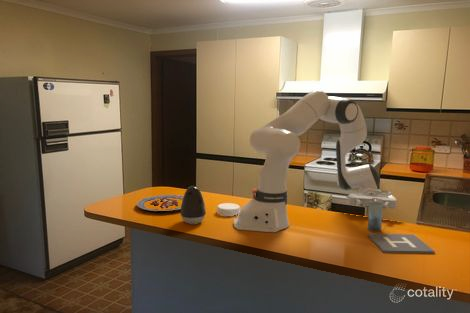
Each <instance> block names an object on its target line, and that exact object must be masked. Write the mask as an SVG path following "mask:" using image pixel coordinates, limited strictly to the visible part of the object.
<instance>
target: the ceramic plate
mask: <svg viewBox="0 0 470 313" xmlns="http://www.w3.org/2000/svg"><path fill="white" fill-rule="evenodd" d="M183 197H184V195H177V194H161V195H160V194H159V195H154V196H147V197H144V198H142V199H140V200H139V201H137V202H136V205H137V207H138V208H140V209H142V210H146V211H150V212H151V211H152V212H157V211H168V212H173V210H175V211H178V210H181V207H179V208H175V209H166V210H158V209H149V208H146V207H145V206H144V203H146V202H147V201H151V200H155V199H160V200H161V201H160V202H163V203H162V204H161V206H160V207H161V208H162V209H163V208H168V207H169V206H173V205H175V206H177V207H178V205H180V204H178V201H177V200H173V199H180V200H183ZM167 198H173V199H167ZM158 201H159V200H157V201H156V200H155V201H153V202H152V203H150V205H154V206H158V205H159V204H160V203H159V202H158Z"/></svg>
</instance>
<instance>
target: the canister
mask: <svg viewBox="0 0 470 313" xmlns="http://www.w3.org/2000/svg"><path fill="white" fill-rule="evenodd" d="M383 215H384V208H383V200H382V199H379V198H370V202H369V207H368V216H367V230H368V231H370V232H376V233H377V232H378V233H379V231H380V232H382V226H383V225H382V223H383Z"/></svg>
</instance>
